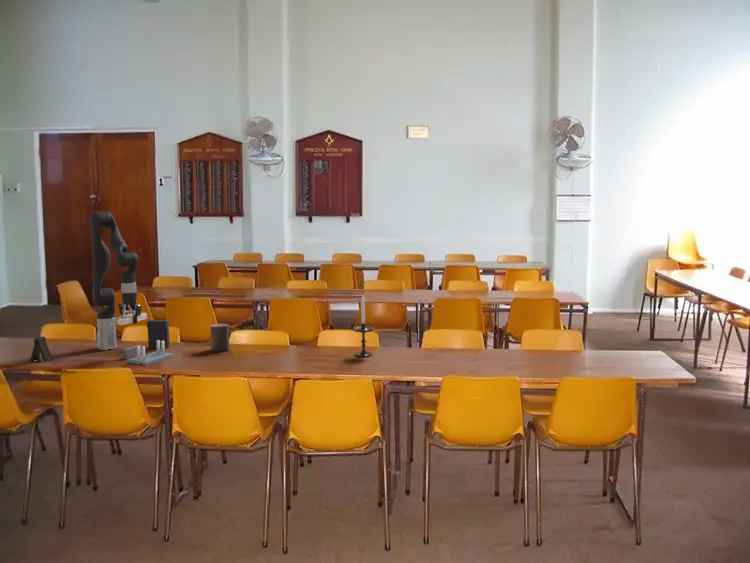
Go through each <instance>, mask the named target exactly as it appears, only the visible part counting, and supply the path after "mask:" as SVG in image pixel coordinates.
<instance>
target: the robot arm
mask: <svg viewBox="0 0 750 563" xmlns="http://www.w3.org/2000/svg"><path fill="white" fill-rule="evenodd" d="M89 225H90V234H91V248H92V250H91V251H92V253H91V254H92V255H91V258H92V260H91V261H92V303H93V305H94V306H96V307H102V306H103V307H104V308H103V309H102V310H100V311H98V312H97V313H96V321H97V323H96V324H97V331H96V346H97V349H98V350H101V351H109V350H108V349H111V350H114V348H115V349H117V348H118V347H117V332H116V330H117V329H116V324H113V318H116V302H115V301H116V295H115V290H114V289H113V288H111V287H106V288H102V283H103V280H104V277H106V275H107V273H108V272H109V270H110V267H111V263H112V262H111V260H112V258H111V251H110V250H109V248H108V247H107V245H106V243H105V242H104V241H103V239H102V237H101V231H100V230H107V229H108V230H109V231H110V234H109V238H108V239H109V240H108V243H109V245H110V247H111V249H112V250H113V252H114V255H115V261H116V264H117V265H118V266H119V267H122V268H123V267H128V268H127V269H126V270H124V271H121V273H120V279H121V280H120V282H121V286H120V291H121V292H120V294H121V300H122V302H119V303H118V304H117V305H118V310H119V315H122V316H125V315H129V313H130V314H132V315H133V322H132V325H137V323H138V321H137V316H140V314H141V313H142V312H141V311H142V304H138V302H137V300H138V292H137V289H138V288H137V282H136V272H137V267H138V263H139V257H138V255H137V253H136V252H133V251H131V252H128V251H129V250H128V249H129V247H128V245H127V244H126V242H125V240H124V239H123V237H122V235H121V233H120V230H119V227H118V225H117V222H116V219H115V218H114V215H113V213H111V211H108V210H105V211H103V210H102V211H92V212H91V213H90V216H89ZM134 313H135V314H134ZM116 347H117V348H116Z"/></svg>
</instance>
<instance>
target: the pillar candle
mask: <svg viewBox="0 0 750 563" xmlns="http://www.w3.org/2000/svg"><path fill="white" fill-rule="evenodd" d="M210 348H211V351H212V352H214V353H215V352H216V353H222V351H224V352H228V351H229V350H230V329H229V324H227V323H216V324H215V323H214V324H211V325H210ZM227 350H228V351H227Z"/></svg>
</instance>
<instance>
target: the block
mask: <svg viewBox="0 0 750 563" xmlns="http://www.w3.org/2000/svg"><path fill="white" fill-rule="evenodd" d="M137 346H140V355H141V356H142V345H133V346H130V347H126V348H123V349H122V358H123V360H130V359H133V358H136V357H137Z"/></svg>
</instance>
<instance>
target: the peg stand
mask: <svg viewBox="0 0 750 563" xmlns="http://www.w3.org/2000/svg"><path fill="white" fill-rule="evenodd" d="M156 343H157V348H156V351H153V352H150V353H147V354H146V346H144V345H138V346H137V345H136V346H137V357H134V358H131V359H127V361H128V362H127V363H129V364H133V365H140V364H142V365H141V366H149V365H152V364H155V363H157V362H161V361H164V360H168V359H171V358H173V357H175V353H173V352H172V353H171V352H166V350H165V349H166V348H165V346H164V341H161V348H160V340H156ZM140 346H141V351H142V355H140Z"/></svg>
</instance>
